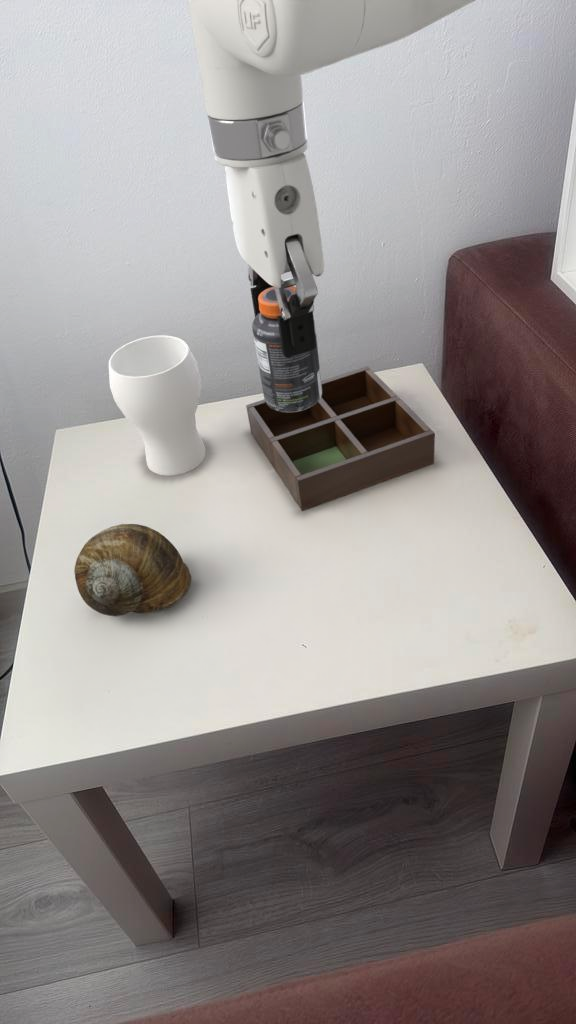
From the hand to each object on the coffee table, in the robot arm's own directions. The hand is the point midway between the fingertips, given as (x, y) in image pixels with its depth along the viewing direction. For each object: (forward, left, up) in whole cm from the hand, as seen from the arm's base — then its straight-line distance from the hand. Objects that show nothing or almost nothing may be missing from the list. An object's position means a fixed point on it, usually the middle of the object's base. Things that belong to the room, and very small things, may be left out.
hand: (285, 335), depth 70 cm
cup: (+18, +11, -23) cm, 31 cm away
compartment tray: (+9, -8, -23) cm, 26 cm away
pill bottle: (0, 0, -7) cm, 7 cm away
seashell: (-3, +21, -23) cm, 31 cm away
